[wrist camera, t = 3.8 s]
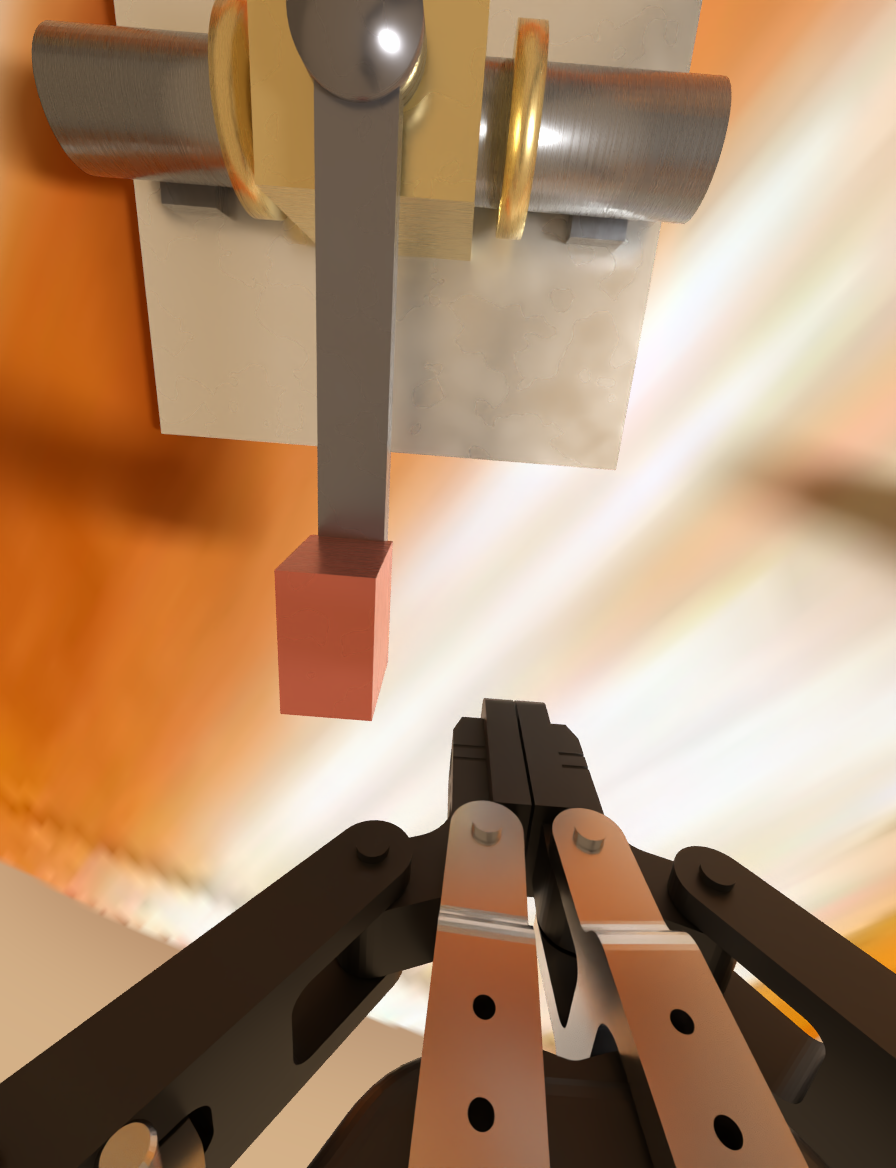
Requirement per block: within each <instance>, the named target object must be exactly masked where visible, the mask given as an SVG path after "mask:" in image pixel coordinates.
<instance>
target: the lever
mask: <svg viewBox="0 0 896 1168" xmlns="http://www.w3.org/2000/svg"><path fill="white" fill-rule="evenodd" d="M286 10H287V19H288V24H289V29H290V33H291V36H292V39H293V42H294V44H295V47H296V49H297V51H298V53H299V55H300V57H301V59H302V61H303V64H304V66H305V68H306V70H307V72H308V74H309V76H310V78H311V80H312V82H313V84H314V162H315V257H316V353H317V448H318V535H310V536H309V537H308V538H307V539H306V540H305V541H304V542H303V543H302V544H301V545H300V546H299V547H298V548H297V549H296V550H295V551H294V552H293V553H292V554H291V555H290V556H289V557H288V558H287V559H286V560H285V561H284V562H283V563H281V564H280V565H279V566H278V567H277V568H276V569H275V592H276V617H277V641H278V665H279V689H280V713H281V714H289V715H302V716H315V717H327V718H340V719H352V720H365V721H372V718H373V714H374V710H375V707H376V703H377V699H378V696H379V692H380V688H381V685H382V681H383V677H384V674H385V670H386V666H387V663H388V644H389V619H390V594H391V569H392V544H393V541H387V540H388V513H389V486H390V459H391V432H392V404H393V377H394V350H395V323H396V296H397V269H398V242H399V214H400V187H401V160H402V133H403V108H404V107H405V106H406V105H407V104H408V102H409V101H410V100H411V98H412V97H413V95H414V94H415V92H416V90H417V88H418V86H419V84H420V82H421V79H422V76H423V73H424V69H425V64H426V57H427V36H426V26H425V16H424V6H423V0H286Z"/></svg>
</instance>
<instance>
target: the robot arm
mask: <svg viewBox="0 0 896 1168" xmlns="http://www.w3.org/2000/svg"><path fill="white" fill-rule="evenodd" d="M527 897H534V899H535V906H536V915H535V921H534V926H530V925H528V912H527ZM537 957H538V962H539V967H540V971H541V976H542V981H543V986H544V990H545V995H546V1000H547V1005H548V1009H549V1014H550V1019H551V1024H552V1028H553V1033H554V1038H555V1046H556V1055H555V1054H552V1053H550V1052H547V1051H544V1050H543V1049H542V1033H541V1017H540V1000H539V984H538V968H537ZM430 962H433V967H432V975H431V983H430V992H429V1000H428V1008H427V1016H426V1025H425V1033H424V1042H423V1050H422V1057H420V1058H417V1059H415V1060H413V1061H410V1062H408V1063H406V1064H403V1065H401V1066H400V1067H398V1068H396V1069H395V1070H393V1071H392V1072H390V1073H388V1074H387V1075H385V1076H384V1077H383V1078H382V1079H380V1080H379V1081H378V1082H377V1083H376V1084H374V1085H373V1086H372V1087H371V1088H370V1089H369V1090H368V1091H367V1092H366V1093H365V1094H364V1095H363V1096H362V1097H361V1099H359V1100H358V1101H357V1103H355V1105H354V1106H353V1107H352V1108H351V1110H350V1111H349V1112H348V1114H347V1115H346V1116H345V1117H344V1119H343V1120H342V1121H341V1123H340V1124H339V1126H338V1127H337V1128H336V1129H335V1131H334V1132H333V1134H332V1135H331V1136H330V1138H329V1139H328V1140H327V1141H326V1143H325V1144H324V1146H323V1147H322V1148H321V1150H320V1151H319V1152H318V1154H317V1155H316V1156H315V1158H314V1159H313V1160H312V1162H311V1163H310V1164H309V1166H308V1167H307V1168H896V974H895V973H894V972H892V971H891V970H889V969H888V968H887V967H885V966H884V965H882V964H881V963H879V962H878V961H877V960H875V959H874V958H872V957H871V956H870V955H868V954H867V953H865V952H864V951H862V950H861V949H860V948H858V947H857V946H855V945H854V944H853V943H851V942H850V941H848V940H847V939H846V938H844V937H843V936H841V935H840V934H838V933H837V932H836V931H834V930H833V929H831V928H830V927H829V926H827V925H826V924H824V923H823V922H821V921H820V920H819V919H817V918H816V917H814V916H813V915H812V914H810V913H809V912H807V911H806V910H805V909H803V908H802V907H800V906H799V905H797V904H796V903H795V902H793V901H792V900H790V899H789V898H788V897H786V896H785V895H783V894H782V893H780V892H779V891H778V890H776V889H775V888H773V887H772V886H771V885H769V884H768V883H766V882H765V881H763V880H762V879H761V878H759V877H758V876H756V875H755V874H754V873H752V872H751V871H749V870H748V869H747V868H745V867H744V866H742V865H741V864H739V863H738V862H737V861H735V860H734V859H732V858H731V857H729V856H727V855H725V854H723V853H721V852H719V851H717V850H714V849H711V848H707V847H701V846H691V847H687V848H684V849H682V850H680V851H679V852H678V853H677V855H676V857H675V859H674V861H671V860H668V859H665V858H662V857H659V856H656V855H653V854H650V853H647V852H644V851H642V850H639V849H637V848H635V847H633V846H632V845H630V844H628V842H627V840H626V838H625V836H624V834H623V832H622V830H621V829H620V828H619V827H618V826H617V825H616V824H615V823H614V822H613V821H612V820H611V819H609V818H608V817H606V816H605V815H604V813H603V810H602V807H601V804H600V801H599V798H598V795H597V792H596V790H595V787H594V784H593V781H592V778H591V775H590V772H589V770H588V766H587V763H586V760H585V757H583V751H582V748H581V745H580V742H579V740H578V738H577V737H576V736H575V735H574V734H573V733H572V732H571V730H570V729H569V728H568V727H567V726H566V725H561V724H550V720H549V716H548V713H547V709H546V705H545V703H541V702H529V701H516V700H515V701H514V702H513V700H502V699H489V698H484V699H483V704H482V712H481V718H470V717H462V718H461V719H460V721H459V722H458V723H457V725H456V726H455V728H454V729H453V739H452V749H451V760H450V770H449V783H448V819H447V820H446V822H445V823H444V824H443V825H441V826H440V827H439V828H437V829H436V830H434V831H432V832H430V833H427V834H424V835H420V836H415V837H410V838H409V837H408V836H407V834H406V833H405V832H404V831H403V830H402V829H401V828H399V827H398V826H396V825H394V824H392V823H389V822H385V821H379V820H370V821H364V822H360V823H357V824H355V825H353V826H351V827H349V828H348V829H346V830H345V831H344V832H342V833H341V834H339V835H338V836H337V837H335V838H334V839H333V840H331V841H330V842H329V843H327V844H326V845H325V846H323V847H322V848H320V849H319V850H318V851H316V852H315V853H314V854H312V855H311V856H310V857H308V858H307V859H305V860H304V861H303V862H301V863H300V864H299V865H297V866H296V867H295V868H293V869H292V870H290V871H289V872H288V873H286V874H285V875H284V876H282V877H281V878H280V879H278V880H277V881H275V882H274V883H273V884H271V885H270V886H269V887H267V888H266V889H265V890H263V891H262V892H260V893H259V894H258V895H256V896H255V897H254V898H252V899H251V900H250V901H248V902H247V903H246V904H244V905H243V906H241V907H240V908H239V909H237V910H236V911H235V912H233V913H232V914H231V915H229V916H228V917H226V918H225V919H224V920H222V921H221V922H220V923H218V924H217V925H216V926H214V927H213V928H211V929H210V930H209V931H207V932H206V933H205V934H203V935H202V936H201V937H199V938H198V939H196V940H195V941H194V942H192V943H191V944H190V945H188V946H187V947H186V948H184V949H183V950H181V951H180V952H179V953H178V954H176V955H175V956H173V957H172V958H171V959H169V960H168V961H167V962H165V963H164V964H162V965H161V966H160V967H159V968H157V969H156V970H154V971H153V972H152V973H150V974H149V975H147V976H146V977H145V978H143V979H142V980H141V981H139V982H138V983H137V984H135V985H134V986H132V987H131V988H130V989H128V990H127V991H126V992H124V993H123V994H122V995H120V996H119V997H117V998H116V999H115V1000H113V1001H112V1002H111V1003H109V1004H108V1005H107V1006H105V1007H104V1008H102V1009H101V1010H100V1011H98V1012H97V1013H96V1014H94V1015H93V1016H92V1017H90V1018H89V1019H87V1020H86V1021H85V1022H83V1023H82V1024H81V1025H79V1026H78V1027H77V1028H75V1029H74V1030H73V1031H71V1032H70V1033H68V1034H67V1035H66V1036H64V1037H63V1038H62V1039H61V1040H59V1041H58V1042H56V1043H55V1044H53V1045H52V1046H51V1047H50V1048H48V1049H47V1050H46V1051H44V1052H43V1053H41V1054H40V1055H38V1056H37V1057H36V1058H34V1059H33V1060H32V1061H30V1062H29V1063H28V1064H26V1065H25V1066H24V1067H22V1068H21V1069H20V1070H18V1071H17V1072H15V1073H14V1074H13V1075H11V1076H10V1077H8V1078H7V1079H6V1080H4V1081H3V1082H2V1083H0V1168H230V1167H231V1166H232V1165H233V1164H234V1163H235V1162H236V1161H237V1159H238V1158H239V1157H240V1156H241V1155H242V1154H243V1153H244V1152H245V1151H246V1149H247V1148H248V1147H249V1146H250V1145H251V1144H252V1143H253V1142H254V1140H255V1139H256V1138H257V1137H258V1136H259V1135H260V1134H261V1133H262V1132H263V1130H264V1129H265V1128H266V1127H267V1126H268V1125H269V1124H270V1123H271V1122H272V1120H273V1119H274V1118H275V1117H276V1116H277V1115H278V1114H279V1113H280V1112H281V1110H282V1109H283V1108H284V1107H285V1106H286V1105H287V1103H289V1102H290V1100H291V1099H292V1098H293V1097H294V1096H295V1095H296V1094H297V1093H298V1091H299V1090H300V1089H301V1088H302V1087H303V1086H304V1085H305V1084H306V1083H307V1081H308V1080H309V1079H310V1078H311V1077H312V1076H313V1075H314V1074H315V1072H316V1071H317V1070H318V1069H319V1068H320V1067H321V1066H322V1065H323V1063H324V1062H325V1061H326V1060H327V1059H328V1058H329V1057H330V1056H331V1055H332V1053H333V1052H334V1051H335V1050H336V1049H337V1048H338V1047H339V1046H340V1045H341V1044H342V1042H343V1041H344V1040H345V1039H346V1038H347V1037H348V1036H349V1035H350V1033H351V1032H352V1031H353V1030H354V1029H355V1028H356V1027H357V1026H358V1025H359V1024H360V1022H361V1021H362V1020H363V1019H364V1018H365V1017H366V1016H367V1015H368V1014H369V1012H370V1011H371V1010H372V1009H373V1008H374V1007H375V1006H376V1005H377V1003H378V1002H379V1001H380V1000H381V999H382V998H383V997H384V996H385V995H386V993H387V992H388V991H389V990H390V989H391V988H392V987H393V986H394V985H395V983H396V982H397V981H398V979H399V977H400V975H401V973H402V971H403V970H406V969H409V968H413V967H416V966H420V965H423V964H427V963H430ZM736 962H739V963H740V964H741V965H742V966H743V967H744V968H746V969H747V970H748V971H749V972H750V973H752V974H753V975H754V976H755V977H756V978H757V979H759V980H760V981H761V982H762V983H763V984H765V985H766V986H767V987H768V988H769V989H771V990H772V991H773V992H774V993H775V994H776V995H778V996H779V997H780V998H781V999H782V1000H784V1001H785V1002H786V1003H787V1004H788V1005H789V1006H791V1007H792V1008H793V1009H794V1010H795V1011H797V1012H798V1013H799V1014H800V1015H801V1016H802V1017H804V1018H805V1019H806V1020H807V1021H808V1022H809V1023H810V1024H811V1025H812V1026H813V1027H814V1029H815V1030H816V1031H817V1033H818V1034H819V1036H820V1037H821V1039H822V1041H823V1043H822V1042H819V1041H817V1040H815V1039H813V1038H812V1037H810V1036H809V1035H808V1034H806V1033H805V1032H804V1031H803V1030H802V1029H800V1028H799V1027H798V1026H797V1025H796V1024H795V1023H793V1022H792V1021H791V1020H790V1019H789V1018H788V1017H787V1016H785V1015H784V1014H783V1013H782V1012H781V1011H780V1010H778V1009H777V1008H776V1007H775V1006H774V1005H773V1004H771V1003H770V1002H769V1001H768V1000H767V999H766V998H765V997H763V996H762V995H761V994H760V993H759V992H758V991H756V990H755V989H754V988H753V987H752V986H751V985H749V984H748V983H747V982H746V981H745V980H744V979H742V978H741V977H740V976H739V975H738V974H737V973H736V972H734V971H733V970H734V968H735V965H736Z"/></svg>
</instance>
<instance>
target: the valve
mask: <svg viewBox="0 0 896 1168" xmlns="http://www.w3.org/2000/svg"><path fill="white" fill-rule="evenodd" d="M701 5H702V0H423V6H424V16H425V26H426V36H427V57H426V64H425V69H424V73H423V76H422V79H421V82H420V84H419V86H418V88H417V90H416V92H415V94H414V95H413V97H412V98H411V100H410V101H409V102H408V104H407V105H406V106H405V107H404V108H403V133H402V160H401V187H400V214H399V242H398V269H397V296H396V323H395V350H394V377H393V404H392V432H391V452H397V453H410V454H422V455H434V456H447V457H459V458H472V459H484V460H497V461H509V462H521V463H534V464H546V465H559V466H571V467H584V468H596V469H608V470H616V466H617V461H618V455H619V450H620V444H621V439H622V433H623V428H624V423H625V417H626V412H627V406H628V401H629V395H630V390H631V385H632V379H633V374H634V368H635V363H636V357H637V352H638V347H639V341H640V336H641V330H642V325H643V320H644V314H645V309H646V303H647V298H648V292H649V287H650V282H651V276H652V271H653V265H654V260H655V254H656V249H657V244H658V238H659V233H660V227H661V222H664V223H676V224H684V223H686V222H687V221H689V220H690V219H691V217H692V216H693V215H694V214H695V212H696V211H697V209H698V207H699V206H700V204H701V202H702V200H703V198H704V196H705V194H706V192H707V190H708V187H709V185H710V183H711V180H712V178H713V175H714V172H715V169H716V167H717V164H718V161H719V157H720V154H721V151H722V147H723V143H724V140H725V135H726V131H727V126H728V121H729V115H730V107H731V84H730V81H729V78H728V77H727V76H722V75H710V74H698V73H689V70H690V65H691V59H692V54H693V48H694V43H695V38H696V32H697V27H698V21H699V16H700V10H701ZM114 8H115V17H116V26H112V25H100V24H88V23H76V22H64V21H51V20H46V21H44V22H42V23H40V24H39V25H38V27H37V29H36V30H35V33H34V36H33V42H32V64H33V72H34V78H35V83H36V87H37V91H38V95H39V98H40V101H41V104H42V107H43V110H44V112H45V115H46V117H47V120H48V122H49V124H50V126H51V128H52V130H53V132H54V134H55V136H56V138H57V140H58V141H59V143H60V145H61V146H62V148H63V149H64V151H65V152H66V154H67V155H68V156H69V158H70V159H71V160H72V161H73V162H74V163H75V164H76V165H77V166H78V167H79V168H80V169H81V170H83V171H84V172H85V173H87V174H89V175H92V176H99V177H111V178H124V179H133V180H134V189H135V198H136V207H137V216H138V226H139V235H140V244H141V253H142V262H143V271H144V280H145V289H146V298H147V307H148V316H149V325H150V334H151V344H152V353H153V362H154V371H155V380H156V389H157V398H158V407H159V416H160V425H161V434H173V435H186V436H198V437H211V438H223V439H236V440H248V441H260V442H273V443H285V444H298V445H310V446H317V353H316V257H315V162H314V84H313V82H312V80H311V78H310V76H309V74H308V72H307V70H306V68H305V66H304V64H303V61H302V59H301V57H300V55H299V53H298V51H297V49H296V47H295V44H294V42H293V39H292V36H291V33H290V29H289V24H288V19H287V10H286V0H114Z"/></svg>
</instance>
